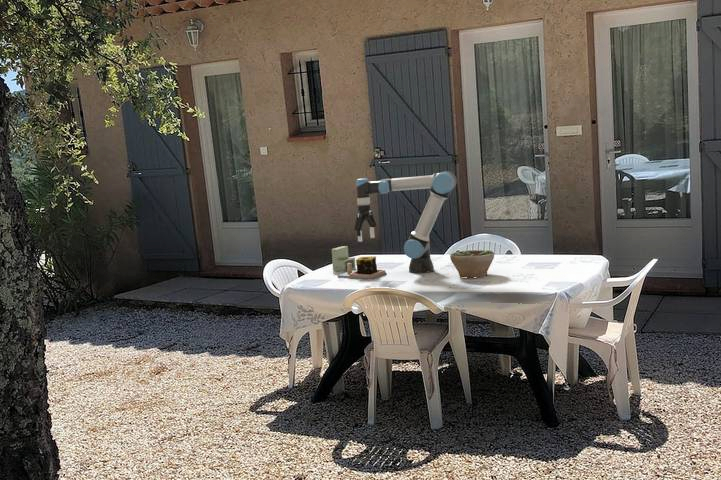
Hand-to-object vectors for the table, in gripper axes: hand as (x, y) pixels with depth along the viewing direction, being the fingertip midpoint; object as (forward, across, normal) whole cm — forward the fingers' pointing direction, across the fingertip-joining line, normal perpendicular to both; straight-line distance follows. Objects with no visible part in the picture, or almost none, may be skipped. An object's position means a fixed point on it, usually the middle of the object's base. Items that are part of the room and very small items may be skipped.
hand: (366, 239), depth 469 cm
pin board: (+22, +2, -4) cm, 22 cm away
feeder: (+22, -13, -27) cm, 37 cm away
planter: (+23, -16, +62) cm, 68 cm away
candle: (+21, +2, 0) cm, 21 cm away
